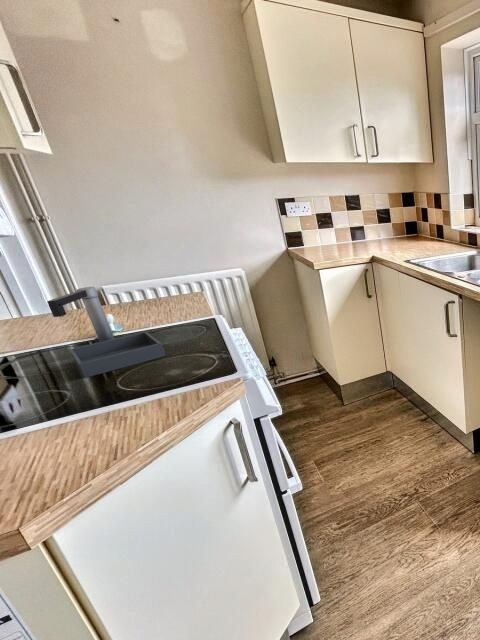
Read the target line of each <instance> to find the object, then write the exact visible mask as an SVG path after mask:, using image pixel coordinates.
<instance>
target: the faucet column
mask: <svg viewBox="0 0 480 640" xmlns="http://www.w3.org/2000/svg"><path fill="white" fill-rule="evenodd" d="M81 301H82V303H83V306H84V308H85V311H86V313H87V315H88V318H89V320H90V322H91V324H92V327H93V329H94V331H95V335H96V334H97V336H98V338H97V339H98V341H99V342H103V341H107V340H112V339H116V338H115V336H114V335H113V333H112V331H111V328H110V326H109V323H108V321H107V318H106V317H107V315H106V314H105V313H106V312H105V311H104V309H103V306H102V303H101V302H100V298H99V297H98V296H96V297H92V298H86V299H81Z"/></svg>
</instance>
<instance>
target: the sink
mask: <svg viewBox="0 0 480 640" xmlns="http://www.w3.org/2000/svg"><path fill="white" fill-rule="evenodd" d="M68 352H69V353H70V355H71V358H72V359H73V362H74V363H75V365H76V366H77V368H78V369H79V372H81V375H82V376H83V378H85V379H86V378H90V377H94V376H98V375H101V374H105V373H109V372H113V371H115V370H120V369H123V368H127V367H131V366H134V365H138V364H141V363H145V362H149V361H152V360H156V359H159V358H164V357H166V356H167V355H166V352H165V350H164V347H163V344H162V342H161V341H159V340H158V339H157V338H156V337H154V336H153V335H151V334H150V333H149V332H148V331H142V332H138V333H134V334H130V335H125V336H121V337H116V338H115V339H112V340H107V341H103V342H100V341H99V342H94V343H90V344H85V345H82V346H78V347H73V348H69V349H68Z"/></svg>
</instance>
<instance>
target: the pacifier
mask: <svg viewBox="0 0 480 640" xmlns="http://www.w3.org/2000/svg"><path fill="white" fill-rule="evenodd" d="M106 318H107V321H108V323H109V326H110V328H111V331H112V333H113V335H114V337H115V336H118V335H119V333H120V332H121V331H122V330H123V325H122V324H121V323H116V322H115V323H114V321H115V318H114V315H112V314H111V313H107V314H106ZM94 337H95V338H96V339H98V336H97V334H96V333H95V335H94Z"/></svg>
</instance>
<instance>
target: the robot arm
mask: <svg viewBox="0 0 480 640" xmlns="http://www.w3.org/2000/svg"><path fill="white" fill-rule="evenodd" d="M15 235H16V232H15V229H14V227H13V225H12V223H11V222H10V220H9V218H8V216H7V215H6V213H5V211H4V210H3V209H2V207H1V206H0V239H1V238H10V237H15ZM3 256H4V254H3V251H2V249H1V248H0V257H3Z"/></svg>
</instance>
